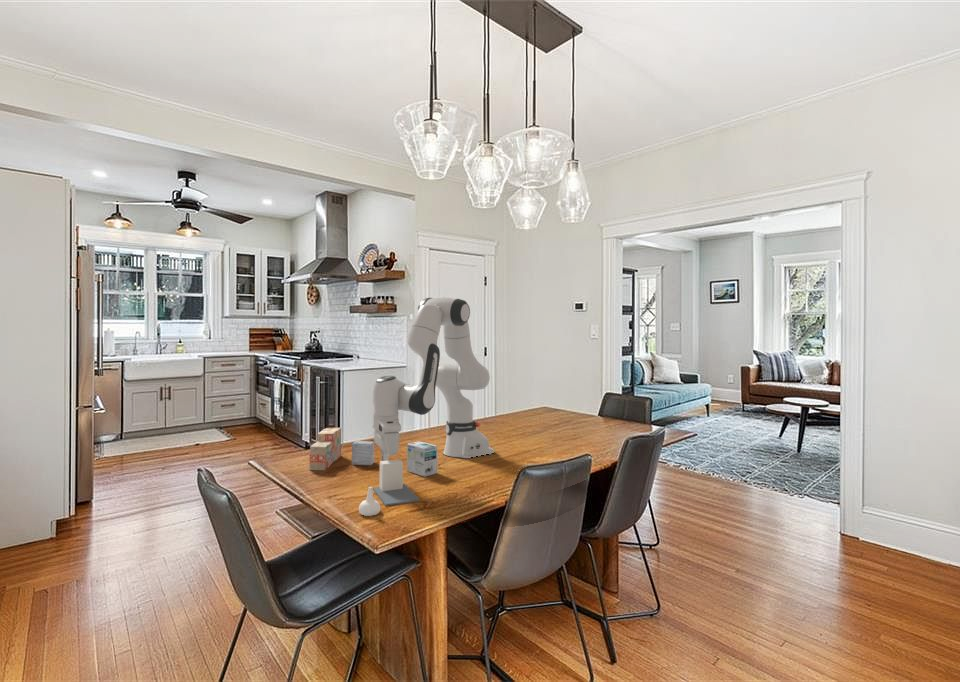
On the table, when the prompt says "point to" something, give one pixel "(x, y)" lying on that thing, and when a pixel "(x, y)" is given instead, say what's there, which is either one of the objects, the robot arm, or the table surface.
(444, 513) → the table surface
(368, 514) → the garlic bulb
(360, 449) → the medicine box
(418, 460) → the light bulb box
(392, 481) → the cream block
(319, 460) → the stack of blocks
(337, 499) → the table surface
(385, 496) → the rubber mat
